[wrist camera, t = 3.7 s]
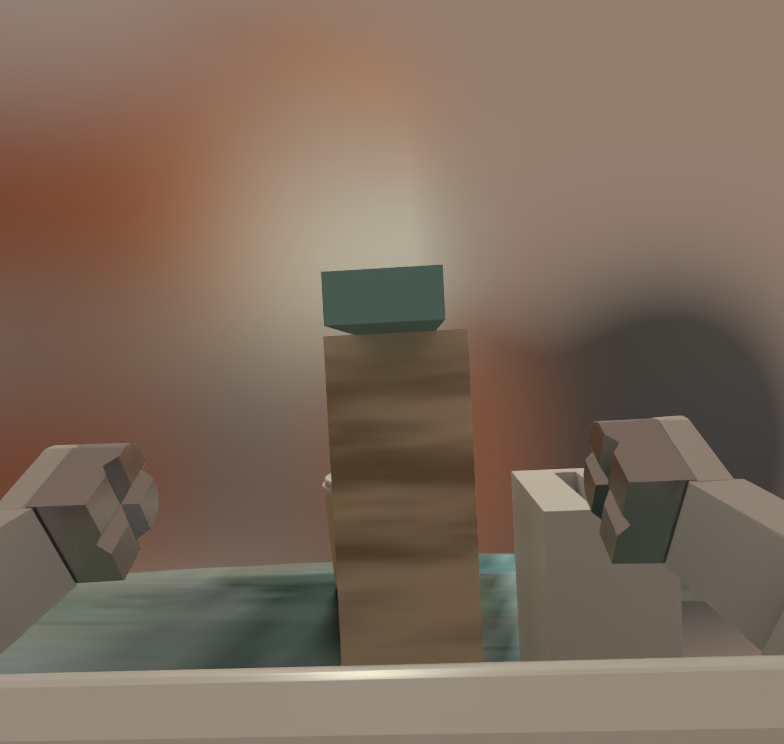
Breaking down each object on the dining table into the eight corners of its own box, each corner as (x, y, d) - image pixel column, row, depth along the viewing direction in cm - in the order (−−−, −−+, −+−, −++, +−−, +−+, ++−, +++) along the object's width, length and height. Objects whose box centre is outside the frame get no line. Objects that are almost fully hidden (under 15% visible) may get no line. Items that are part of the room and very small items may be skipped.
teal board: (445, 319, 20) (442, 264, 20) (324, 325, 20) (321, 271, 20) (428, 339, 48) (427, 316, 48) (377, 341, 48) (376, 319, 48)
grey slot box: (688, 800, 29) (677, 506, 29) (556, 802, 30) (544, 511, 29) (619, 687, 39) (610, 467, 39) (521, 689, 40) (511, 471, 39)
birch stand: (489, 788, 31) (467, 328, 30) (348, 790, 31) (323, 336, 30) (471, 682, 41) (454, 335, 40) (365, 684, 41) (346, 340, 40)
